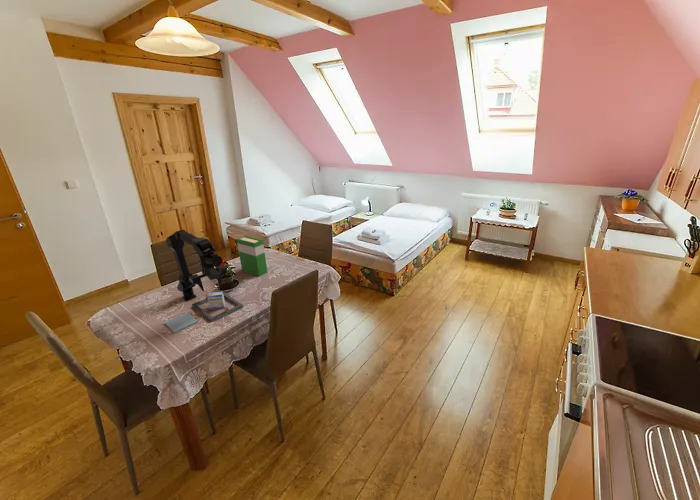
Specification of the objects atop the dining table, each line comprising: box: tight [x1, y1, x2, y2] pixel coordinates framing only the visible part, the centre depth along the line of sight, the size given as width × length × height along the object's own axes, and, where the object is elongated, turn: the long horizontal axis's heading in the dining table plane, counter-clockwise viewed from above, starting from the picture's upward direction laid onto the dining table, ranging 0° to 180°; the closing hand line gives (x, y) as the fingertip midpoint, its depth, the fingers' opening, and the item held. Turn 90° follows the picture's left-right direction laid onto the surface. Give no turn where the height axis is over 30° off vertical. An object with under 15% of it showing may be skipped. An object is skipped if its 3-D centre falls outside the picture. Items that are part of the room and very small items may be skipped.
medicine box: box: [207, 290, 226, 310], centre depth 179 cm, size 8×4×9 cm, turn 105°
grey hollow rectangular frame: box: [191, 291, 244, 323], centre depth 180 cm, size 24×19×4 cm
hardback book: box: [236, 235, 268, 277], centre depth 218 cm, size 18×7×24 cm, turn 57°
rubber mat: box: [164, 311, 199, 334], centre depth 167 cm, size 13×12×1 cm
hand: (211, 288), depth 174 cm, fingers open, 9 cm apart
